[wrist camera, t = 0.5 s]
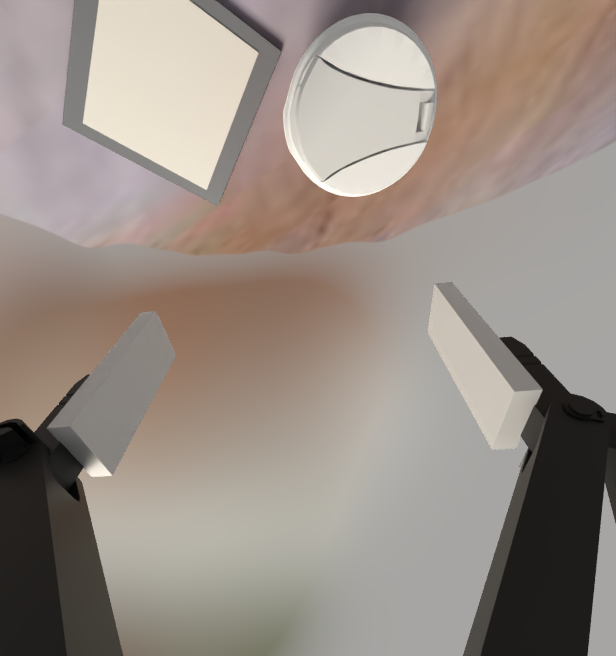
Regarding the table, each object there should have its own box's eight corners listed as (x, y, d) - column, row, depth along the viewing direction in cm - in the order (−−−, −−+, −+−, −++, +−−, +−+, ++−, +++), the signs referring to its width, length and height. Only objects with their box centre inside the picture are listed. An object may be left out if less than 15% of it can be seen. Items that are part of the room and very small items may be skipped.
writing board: (89, -98, 20) (83, -103, 20) (281, 51, 25) (281, 51, 25) (66, 123, 28) (61, 124, 27) (218, 204, 33) (217, 206, 32)
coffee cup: (382, 31, 25) (466, 0, 13) (374, 148, 30) (430, 197, 19) (277, 40, 25) (272, 17, 13) (288, 155, 30) (291, 209, 19)
